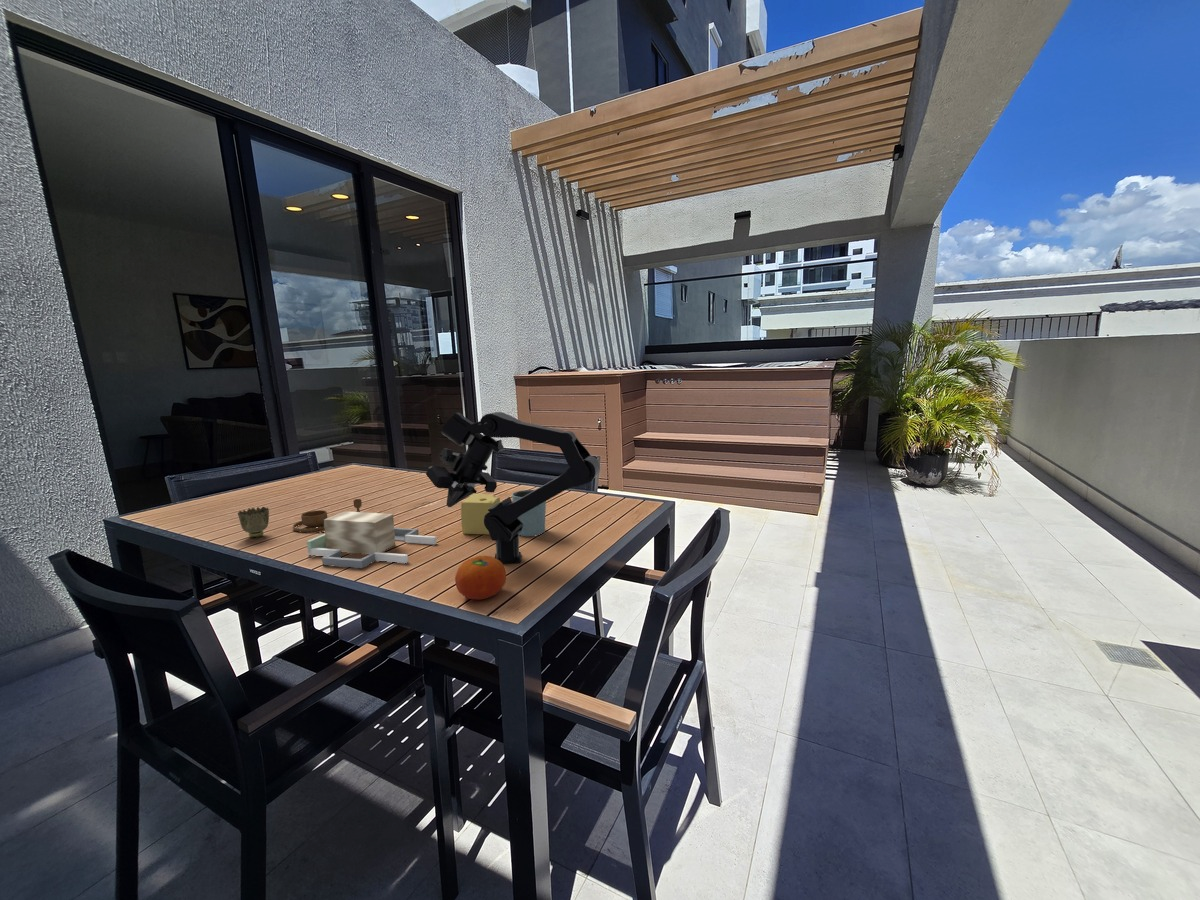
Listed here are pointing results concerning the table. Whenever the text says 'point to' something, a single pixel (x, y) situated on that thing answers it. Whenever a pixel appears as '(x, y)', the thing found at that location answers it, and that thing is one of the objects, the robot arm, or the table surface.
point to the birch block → (360, 532)
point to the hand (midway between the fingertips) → (448, 506)
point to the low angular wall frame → (334, 555)
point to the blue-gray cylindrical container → (531, 516)
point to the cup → (254, 521)
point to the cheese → (476, 512)
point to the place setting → (318, 518)
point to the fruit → (480, 577)
